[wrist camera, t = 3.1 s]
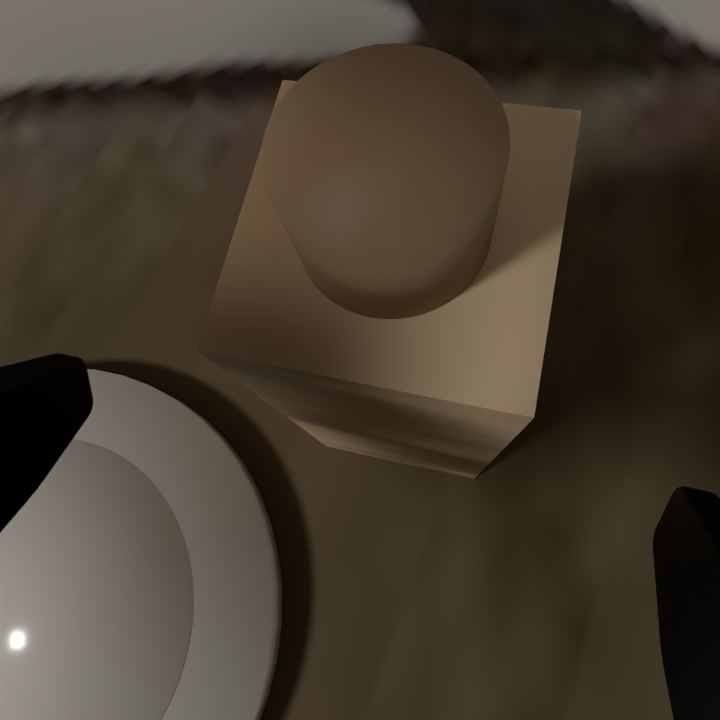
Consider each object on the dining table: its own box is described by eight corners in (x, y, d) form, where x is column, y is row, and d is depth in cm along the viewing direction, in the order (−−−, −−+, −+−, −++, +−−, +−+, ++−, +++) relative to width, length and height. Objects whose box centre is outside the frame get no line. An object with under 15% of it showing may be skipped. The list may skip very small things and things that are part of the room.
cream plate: (323, 406, 19) (317, 399, 18) (219, 980, 15) (202, 1017, 14) (-73, 352, 22) (-99, 343, 21) (-255, 830, 18) (-300, 850, 17)
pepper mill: (499, 335, 19) (623, -4, 7) (473, 479, 18) (569, 382, 6) (359, 310, 20) (246, -29, 8) (326, 445, 19) (128, 299, 7)
